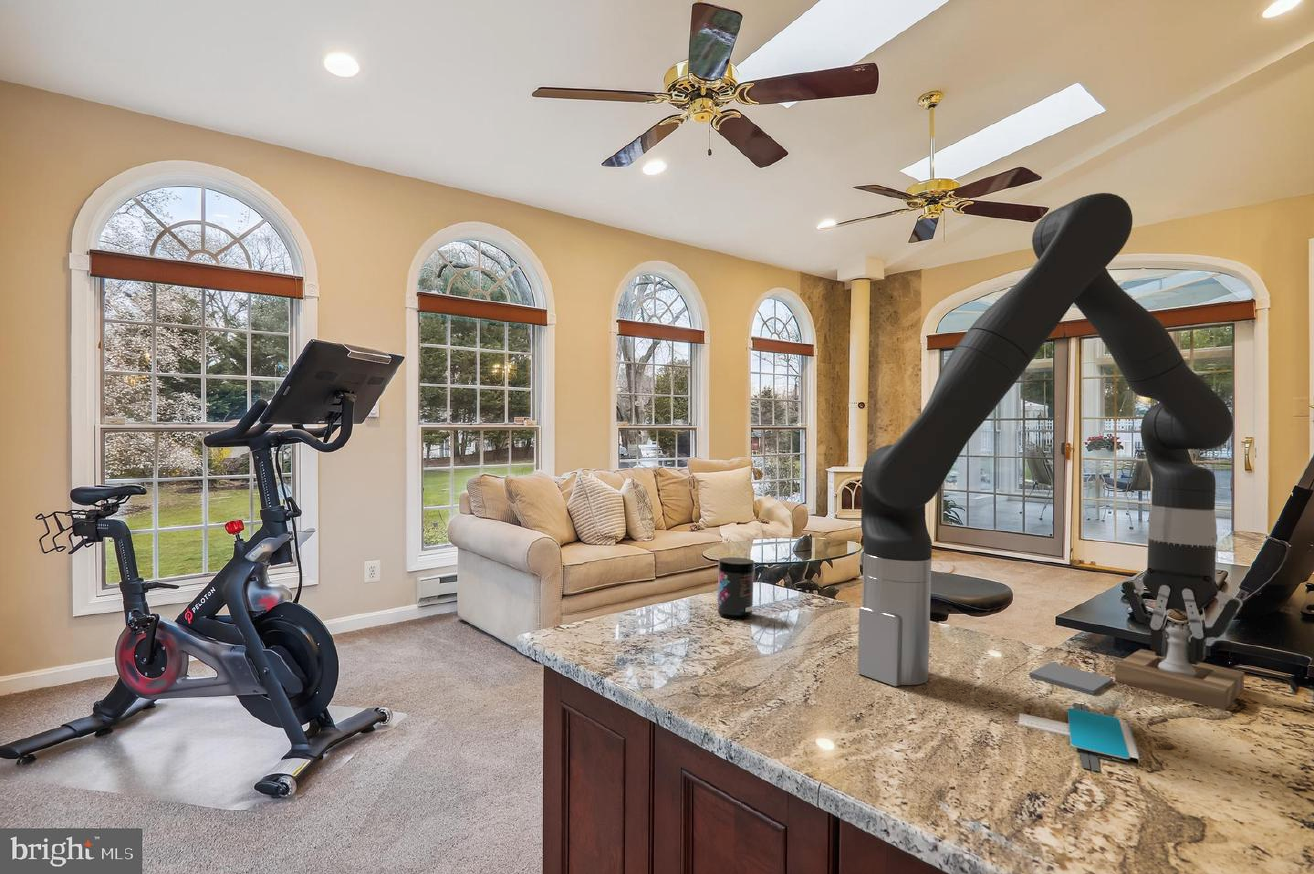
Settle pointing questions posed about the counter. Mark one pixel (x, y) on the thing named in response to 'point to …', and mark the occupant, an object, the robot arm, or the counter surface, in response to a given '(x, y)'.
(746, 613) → the supplement container
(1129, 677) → the pocket block
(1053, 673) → the slate coaster
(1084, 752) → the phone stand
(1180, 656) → the rook chess piece
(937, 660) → the counter surface
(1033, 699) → the counter surface
